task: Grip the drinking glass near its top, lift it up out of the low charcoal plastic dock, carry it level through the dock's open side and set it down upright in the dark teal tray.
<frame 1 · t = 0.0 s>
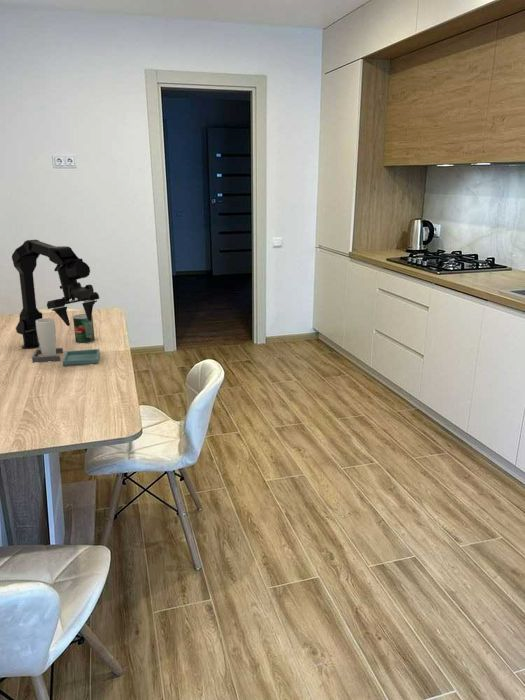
hand: (79, 323, 191), 15 cm above the table, tool pointing down, fingers open, 9 cm apart
canned tomato: (85, 341, 223), on the table
drinking glass: (49, 357, 201), on the table
tray: (82, 359, 199), on the table
dock: (49, 357, 201), on the table
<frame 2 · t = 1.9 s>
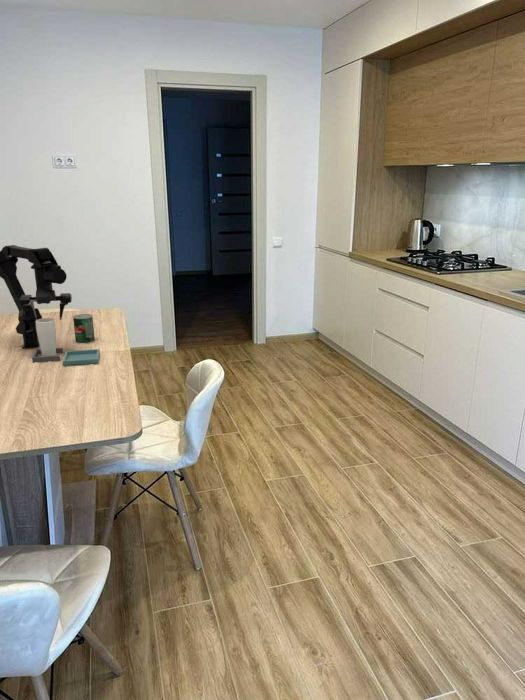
hand: (48, 320, 204), 13 cm above the table, tool pointing down, fingers open, 9 cm apart
nothing on the table moved.
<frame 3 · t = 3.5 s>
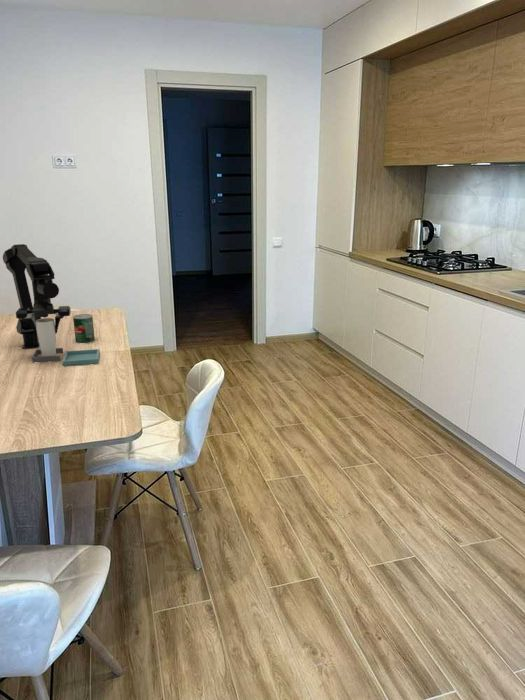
hand: (46, 333, 198), 10 cm above the table, tool pointing down, fingers closed on drinking glass, 7 cm apart
drinking glass: (49, 357, 201), on the table, touching gripper
everything else where it was.
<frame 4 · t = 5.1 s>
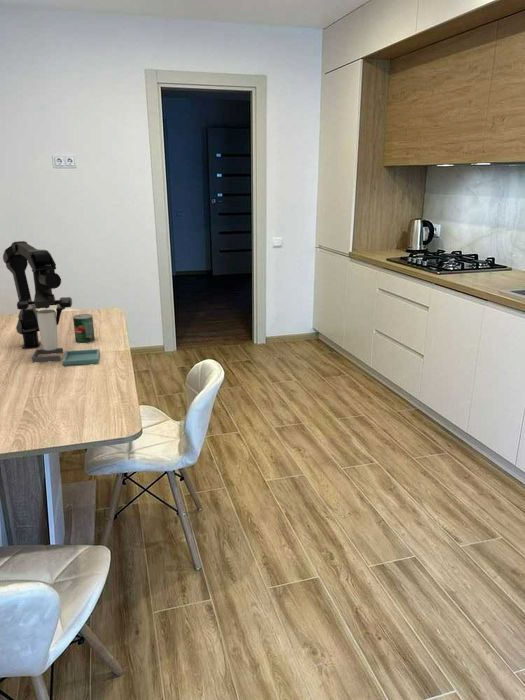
hand: (47, 325, 197), 13 cm above the table, tool pointing down, fingers closed on drinking glass, 7 cm apart
drinking glass: (50, 349, 200), point 3 cm above the table, touching gripper
everything else where it was.
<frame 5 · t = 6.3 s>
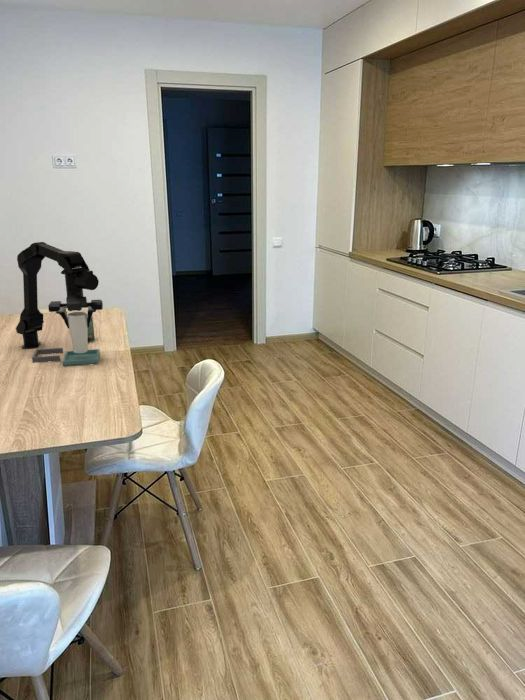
hand: (78, 327, 195), 13 cm above the table, tool pointing down, fingers closed on drinking glass, 7 cm apart
drinking glass: (80, 352, 198), point 3 cm above the table, touching gripper
everything else where it was.
when the fingers open (11 cm above the table, at t = 7.0 s): drinking glass drops 1 cm, resting on tray.
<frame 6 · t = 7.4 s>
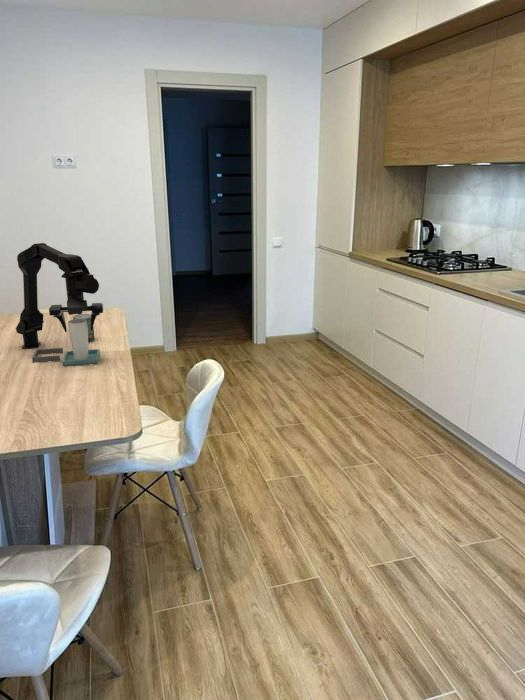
hand: (78, 331, 195), 11 cm above the table, tool pointing down, fingers open, 9 cm apart
drinking glass: (81, 359, 198), resting on tray
everything else where it was.
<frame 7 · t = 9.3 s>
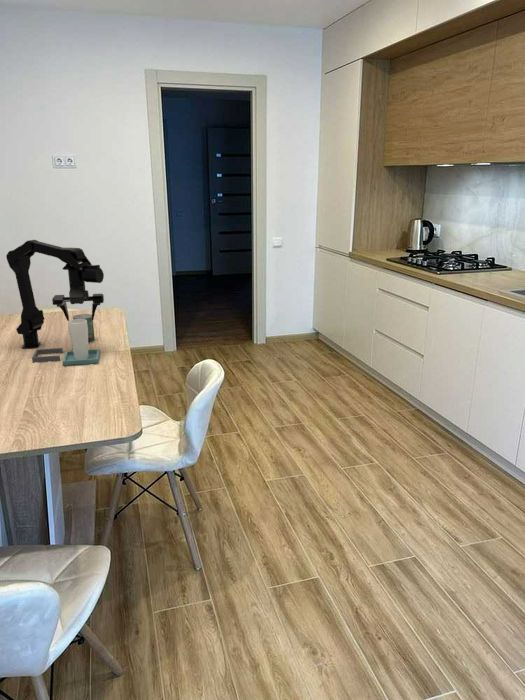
hand: (80, 320, 205), 13 cm above the table, tool pointing down, fingers open, 9 cm apart
nothing on the table moved.
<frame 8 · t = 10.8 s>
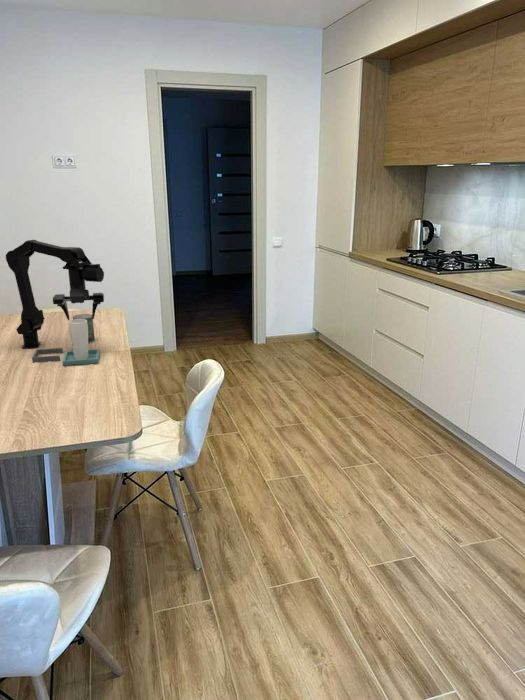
hand: (81, 319, 206), 13 cm above the table, tool pointing down, fingers open, 9 cm apart
nothing on the table moved.
at the end: drinking glass inside the target area on the tray (0.1 cm from its centre), point 0.3 cm above the tray's base; drinking glass tilted 0°; the gripper is holding nothing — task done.
